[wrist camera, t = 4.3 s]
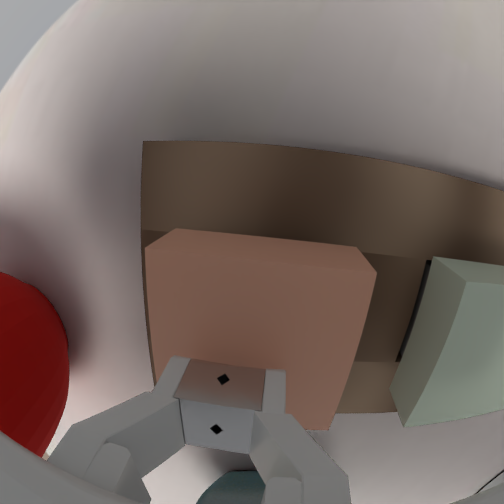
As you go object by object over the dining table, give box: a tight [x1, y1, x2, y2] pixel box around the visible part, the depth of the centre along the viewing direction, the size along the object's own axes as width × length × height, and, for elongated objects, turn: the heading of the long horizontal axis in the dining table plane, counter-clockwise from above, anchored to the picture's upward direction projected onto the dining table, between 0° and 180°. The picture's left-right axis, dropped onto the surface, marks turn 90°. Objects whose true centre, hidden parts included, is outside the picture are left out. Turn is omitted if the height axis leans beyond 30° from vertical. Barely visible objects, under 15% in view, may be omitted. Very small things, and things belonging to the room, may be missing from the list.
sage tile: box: [389, 256, 504, 427], centre depth 10 cm, size 6×6×5 cm
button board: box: [141, 141, 504, 413], centre depth 12 cm, size 28×12×2 cm, turn 86°
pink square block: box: [145, 228, 377, 430], centre depth 10 cm, size 6×6×5 cm
